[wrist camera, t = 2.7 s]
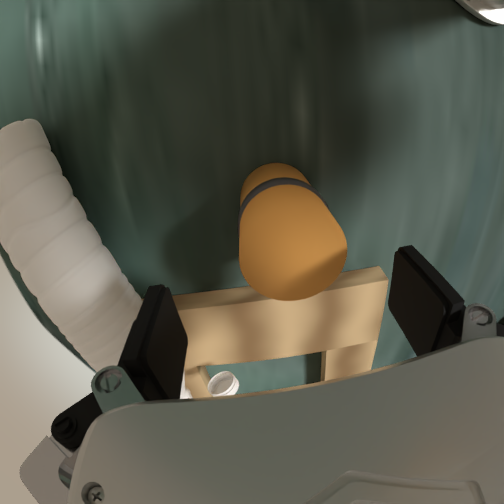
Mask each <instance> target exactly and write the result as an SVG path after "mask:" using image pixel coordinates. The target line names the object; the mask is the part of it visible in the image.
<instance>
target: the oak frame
mask: <svg viewBox="0 0 504 504" xmlns="http://www.w3.org/2000/svg"><path fill="white" fill-rule="evenodd" d="M387 286H388V278H387V277H386V275H385V274H384V272H383V271H382V269H381V268H380V267H379V266H377V267H371V268H365V269H359V270H353V271H347V272H341V273H340V274H339V276H338V277H337V279H336V280H335V281H334V282H333V283H332V284H331V285H330V286H329V287H327V288H326V289H325V290H323V291H322V292H320V293H318V294H316V295H314V296H312V297H309V298H306V299H302V300H297V301H280V300H275V299H271V298H268V297H266V296H264V295H262V294H260V293H258V292H257V291H256V290H254V289H253V288H252V287H251V286H246V287H239V288H231V289H223V290H215V291H207V292H199V293H190V294H182V295H173V296H172V297H173V300H174V303H175V305H176V308H177V311H178V313H179V316H180V319H181V321H182V324H183V326H184V329H185V331H186V334H187V337H188V347H187V353H186V359H185V366H184V374H185V387H186V388H188V389H189V390H190V394H191V395H192V397H193V398H201V397H213V396H212V395H211V394H210V393H209V391H208V383H209V381H210V380H211V379H210V376H209V374H208V372H207V370H206V367H205V366H206V365H220V364H232V363H242V362H251V361H260V360H268V359H276V358H283V357H290V356H297V355H303V354H310V353H316V352H321V351H322V359H321V381H320V382H322V381H327V380H332V379H336V378H341V377H345V376H349V375H354V374H358V373H362V372H366V371H370V370H371V366H372V362H373V358H374V354H375V349H376V345H377V340H378V336H379V331H380V326H381V321H382V316H383V310H384V305H385V299H386V293H387ZM141 300H142V301H143V300H144V299H141ZM209 389H210V388H209Z"/></svg>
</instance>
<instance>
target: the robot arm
mask: <svg viewBox="0 0 504 504" xmlns="http://www.w3.org/2000/svg"><path fill="white" fill-rule="evenodd" d="M456 1H457V2H458V3H459V4H460V5H461V6H462V7H464V8H465V9H466V10H467V11H468V12H470V13H471V14H473V15H474V16H476V17H477V18H479V19H481V20H483V21H484V22H487V23H490V24H493V25H504V0H456ZM388 306H389V309H390V311H391V313H392V315H393V316H394V318H395V319H396V321H397V323H398V324H399V326H400V328H401V329H402V331H403V333H404V334H405V336H406V338H407V340H408V341H409V343H410V345H411V346H412V348H413V350H414V352H415V353H416V355H417V357H415V358H411V359H408V360H405V361H402V362H398V363H395V364H392V365H388V366H385V367H381V368H377V369H373V370H370V371H366V372H362V373H358V374H354V375H349V376H345V377H341V378H336V379H332V380H327V381H322V382H317V383H312V384H306V385H301V386H295V387H289V388H282V389H276V390H269V391H262V392H254V393H245V394H236V395H226V396H214V397H201V398H186V399H180V394H181V387H182V380H183V373H184V366H185V359H186V353H187V347H188V337H187V334H186V331H185V329H184V326H183V324H182V321H181V319H180V316H179V313H178V311H177V308H176V305H175V303H174V300H173V297H172V295H171V292H170V289H169V288H168V287H167V288H165V286H164V285H155V286H149V288H148V290H147V293H146V295H145V298H144V300H143V303H142V305H141V308H140V310H139V313H138V315H137V318H136V320H134V322H133V324H132V327H131V329H130V332H129V334H128V337H127V340H126V343H125V345H124V348H123V351H122V354H121V356H120V359H119V362H118V365H117V366H114V365H112V366H107V367H105V368H102V369H101V370H100V371H98V372H97V373H96V374H95V376H94V377H93V379H92V382H91V387H92V391H93V392H92V393H90V394H89V395H87V396H86V397H84V398H83V399H81V400H80V401H79V402H77V403H75V404H74V405H72V406H71V407H70V408H68V409H66V410H65V411H64V412H62V413H60V414H59V415H58V416H57V417H56V418H55V419H54V421H53V423H52V426H51V433H52V435H51V437H50V438H49V437H48V436H46V437H45V438H44V439H43V440H42V441H41V443H40V444H39V445H38V446H37V447H36V449H34V451H33V452H32V453H31V454H30V455H29V456H28V458H27V459H26V460H25V461H24V462H23V464H22V465H21V467H20V478H21V480H22V482H23V483H24V485H25V486H26V487H27V489H28V490H29V491H30V493H31V494H32V495H33V497H34V498H35V499H36V500H37V502H38V503H39V504H504V325H501V324H498V323H496V315H495V314H494V312H493V311H492V310H491V309H490V308H489V307H487V306H486V305H483V304H478V303H475V304H471V305H468V306H467V308H466V307H465V305H464V300H463V298H462V297H461V296H460V295H459V294H458V293H457V292H456V290H455V289H454V288H453V287H452V286H451V285H450V284H449V283H448V282H447V281H446V280H445V278H444V277H443V276H442V275H441V274H440V273H439V272H438V271H437V270H436V269H435V268H434V267H433V266H432V265H431V264H430V263H429V262H428V261H427V260H426V259H425V258H424V257H423V256H422V255H421V254H420V253H419V252H418V251H417V250H416V249H415V248H414V247H413V246H412V245H409V246H404V247H400V248H399V249H398V251H396V252H395V255H394V264H393V272H392V280H391V287H390V294H389V300H388Z"/></svg>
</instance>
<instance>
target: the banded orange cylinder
mask: <svg viewBox="0 0 504 504" xmlns="http://www.w3.org/2000/svg"><path fill="white" fill-rule="evenodd" d="M238 236H239V263H240V268H241V272H242V274H243V276H244V278H245V280H246V281H247V283H248V284H249V285H250V286H251V287H252V288H253V289H254V290H256V291H257V292H258V293H260V294H262V295H264V296H266V297H268V298H271V299H275V300H280V301H297V300H302V299H306V298H309V297H312V296H314V295H316V294H318V293H320V292H322V291H323V290H325V289H326V288H327V287H329V286H330V285H331V284H332V283H333V282H334V281H335V280H336V279H337V277H338V276H339V274H340V273H341V271H342V269H343V267H344V264H345V261H346V257H347V243H346V238H345V236H344V233H343V231H342V229H341V227H340V226H339V224H338V223H337V221H336V220H335V219H334V217H333V216H332V214H331V213H330V211H329V208H328V206H327V204H326V202H325V201H324V199H323V198H322V197H321V195H320V194H319V193H318V192H317V190H315V189H314V188H313V187H312V186H311V185H310V183H309V182H308V181H307V179H306V178H305V177H304V175H303V174H302V173H301V172H300V171H299V170H297V169H296V168H294V167H292V166H290V165H287V164H283V163H270V164H266V165H263V166H261V167H258V168H257V169H255V170H254V171H253V172H252V173H250V175H249V176H248V177H247V178H246V180H245V181H244V183H243V186H242V189H241V198H240V210H239V215H238Z"/></svg>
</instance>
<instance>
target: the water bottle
mask: <svg viewBox="0 0 504 504" xmlns="http://www.w3.org/2000/svg"><path fill="white" fill-rule="evenodd" d="M0 243H1V245H2V246H3V248H4V250H5V251H6V252H7V253H8V254H9V257H10V260H11V262H12V264H13V266H14V267H15V268H16V270H18V271H19V272H20V273H21V277H22V280H23V281H24V283H25V285H26V286H27V288H28V289H29V290H30V292H31V293H32V294H33V295H34V296H36V297H37V299H38V303H39V305H40V306H41V308H42V309H43V310H44V312H45V313H46V314H47V316H48V317H49V318H50V319H51V320H52V322H53V323H54V324H55V325H56V326H58V328H59V330H60V332H61V333H62V334H63V335H65V336H66V339H67V340H68V341H69V342H70V343H71V344H73V347H74V348H75V350H76V351H77V352H79V353H80V355H81V356H82V357H83V359H84V360H86V361H87V362H88V364H89V365H90V366H91V367H92V368H93V369H95V371H96V372H98V371H100V370H101V369H102V368H105V367H107V366H112V365H114V366H117V365H118V362H119V359H120V356H121V354H122V351H123V348H124V345H125V343H126V340H127V337H128V334H129V332H130V329H131V327H132V324H133V322H134V320H136V318H137V315H138V313H139V310H140V308H141V305H142V303H143V301H142V300H141V297H140V296H139V294H138V293H137V292H135V290H134V288H133V286H132V285H131V284H130V283H129V282H128V279H127V278H126V276H125V275H124V274H123V273H121V269H120V267H119V266H118V264H117V263H116V261H115V259H114V258H113V256H112V254H111V253H110V251H109V250H108V249H107V248H106V247H105V246H103V244H102V241H101V238H100V236H99V234H98V233H97V231H96V229H95V228H94V226H93V225H92V223H91V222H89V221H88V220H87V218H86V213H85V211H84V209H83V207H82V206H81V204H80V202H79V201H78V199H77V198H76V197H74V196H73V191H72V188H71V186H70V184H69V182H68V180H67V179H66V178H65V177H64V176H63V175H62V170H61V167H60V165H59V163H58V161H57V159H56V157H55V155H54V154H53V153H52V152H51V147H50V144H49V142H48V139H47V137H46V135H45V133H44V130H43V128H42V126H41V124H40V123H39V122H38V121H37V120H34V119H25V120H23V121H16V122H13V123H11V124H9V125H7V126H5V127H3V128H2V129H1V130H0ZM226 373H227V374H226ZM216 377H217V378H216ZM214 379H215V380H214ZM213 380H214V381H213ZM212 381H213V382H212ZM238 387H239V382H238V380H237V379H236V378H235V376H234V375H233V374H232V373H231V372H228V371H224V372H220V373H218V374H216V375H215V376H214V377H213V378H212V379H211V380H210V381H209V383H208V391H209V393H210V394H211V395H212V396H213V397H214V396H226V395H234V394H235V393H236V392H237V390H238ZM209 388H210V389H209ZM186 398H193V397H192V395H191V394H190V390H189V389H188V388H186V387H185V374H184V373H183V380H182V387H181V394H180V399H186Z"/></svg>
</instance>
